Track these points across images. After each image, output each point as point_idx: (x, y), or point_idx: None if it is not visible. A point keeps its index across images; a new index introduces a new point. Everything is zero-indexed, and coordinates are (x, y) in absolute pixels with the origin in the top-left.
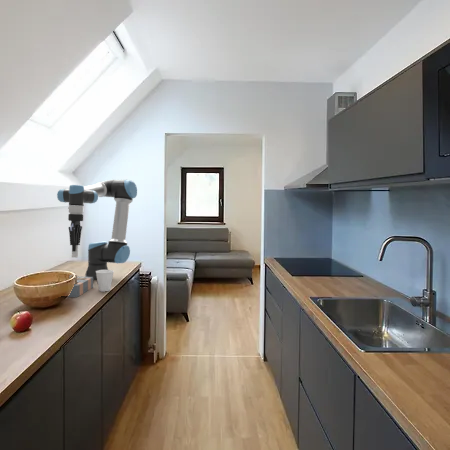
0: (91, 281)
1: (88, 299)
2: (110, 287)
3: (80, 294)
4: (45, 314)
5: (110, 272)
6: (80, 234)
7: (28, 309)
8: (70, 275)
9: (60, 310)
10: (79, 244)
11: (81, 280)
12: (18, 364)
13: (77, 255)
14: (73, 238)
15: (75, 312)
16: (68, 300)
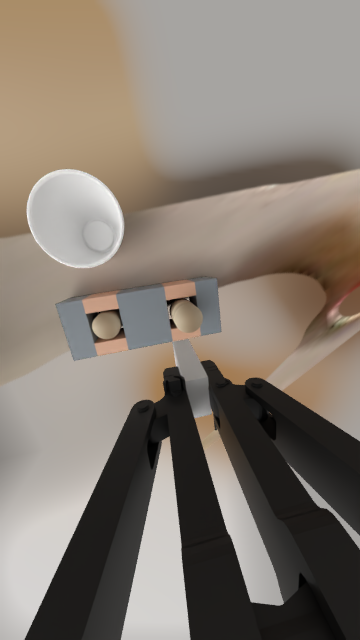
0: (80, 298)
1: (219, 232)
2: (90, 210)
3: (180, 280)
4: (351, 261)
5: (93, 176)
6: (103, 513)
7: (320, 317)
8: (192, 327)
9: (323, 247)
10: (175, 378)
11: (134, 310)
12: None
13: (177, 345)
14: (316, 422)
15: (336, 202)
16: (240, 279)
